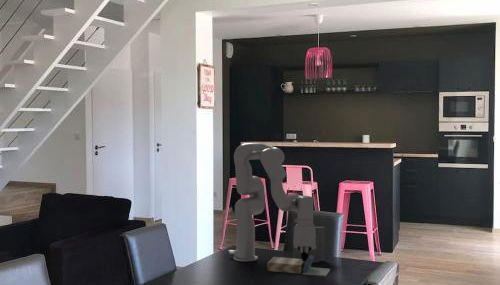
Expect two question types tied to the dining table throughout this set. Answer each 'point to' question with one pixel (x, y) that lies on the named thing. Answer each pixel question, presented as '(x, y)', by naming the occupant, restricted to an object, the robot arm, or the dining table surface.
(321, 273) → the mat
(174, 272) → the dining table surface
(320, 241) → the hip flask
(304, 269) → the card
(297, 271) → the deck
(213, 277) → the dining table surface
